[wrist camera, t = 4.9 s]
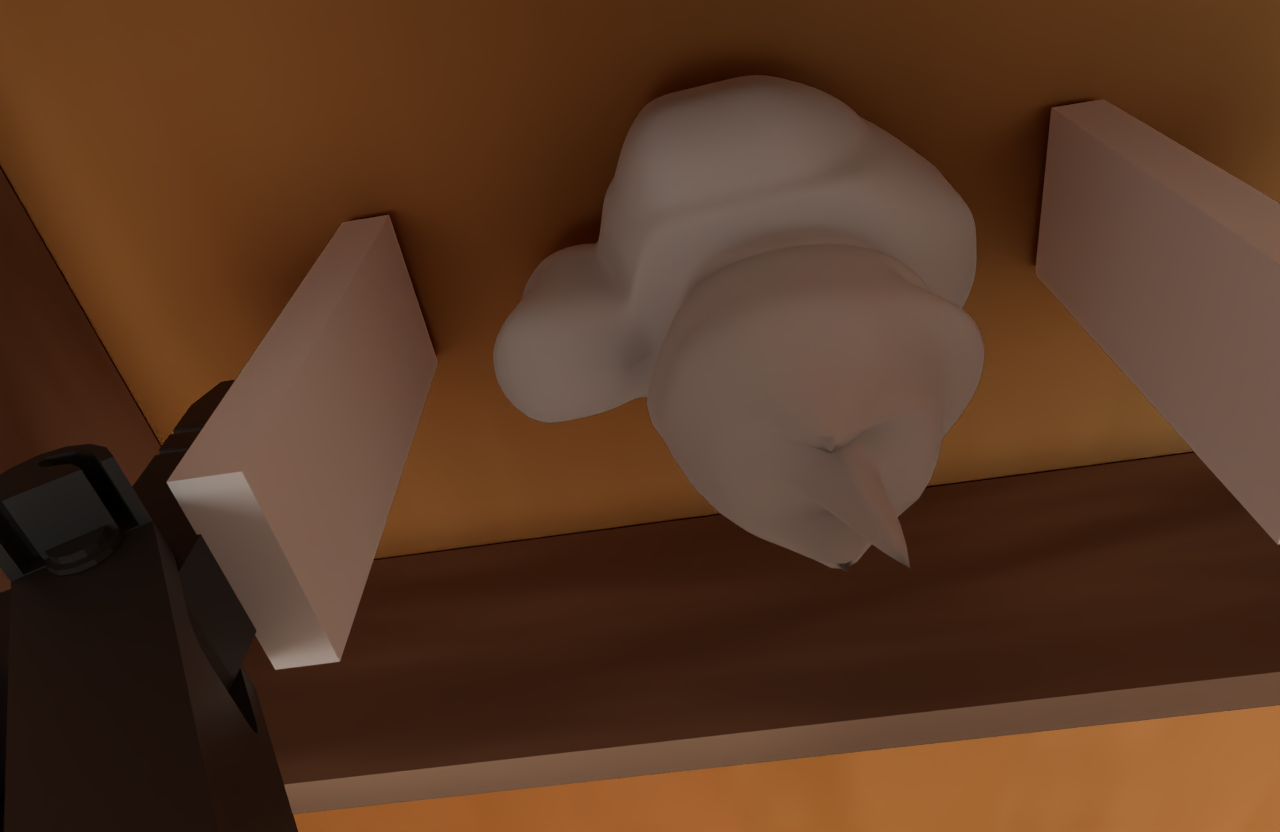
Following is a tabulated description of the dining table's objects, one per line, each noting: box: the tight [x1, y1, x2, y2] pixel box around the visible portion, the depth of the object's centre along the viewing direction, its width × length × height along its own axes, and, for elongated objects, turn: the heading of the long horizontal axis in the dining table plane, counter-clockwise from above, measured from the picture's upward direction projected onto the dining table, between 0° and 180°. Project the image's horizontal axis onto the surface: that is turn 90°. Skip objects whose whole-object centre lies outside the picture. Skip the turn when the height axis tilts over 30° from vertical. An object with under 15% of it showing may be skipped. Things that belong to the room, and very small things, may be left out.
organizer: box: [0, 169, 1280, 814], centre depth 12 cm, size 14×28×5 cm, turn 99°
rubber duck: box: [493, 75, 985, 572], centre depth 11 cm, size 5×7×8 cm
